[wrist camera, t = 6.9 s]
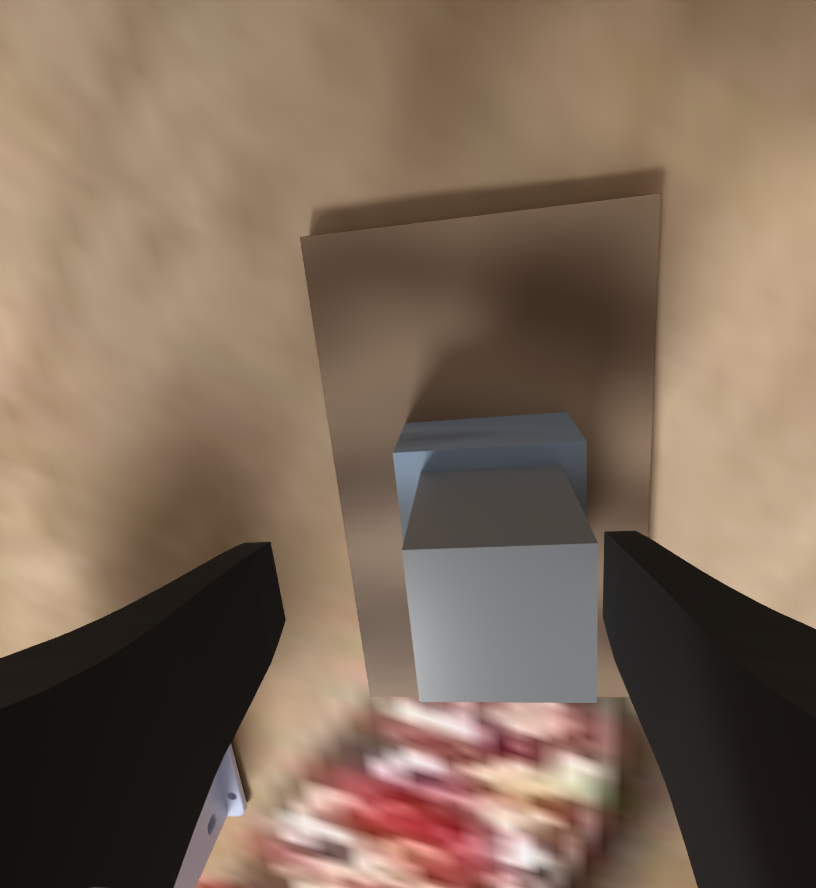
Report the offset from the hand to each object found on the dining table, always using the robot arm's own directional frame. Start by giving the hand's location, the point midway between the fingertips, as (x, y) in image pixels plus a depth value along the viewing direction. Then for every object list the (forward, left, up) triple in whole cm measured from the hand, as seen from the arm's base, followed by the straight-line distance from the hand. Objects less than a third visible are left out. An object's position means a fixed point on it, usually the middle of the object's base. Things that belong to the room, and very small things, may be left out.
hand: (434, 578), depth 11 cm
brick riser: (-2, -1, -10) cm, 11 cm away
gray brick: (-2, -1, -6) cm, 6 cm away
